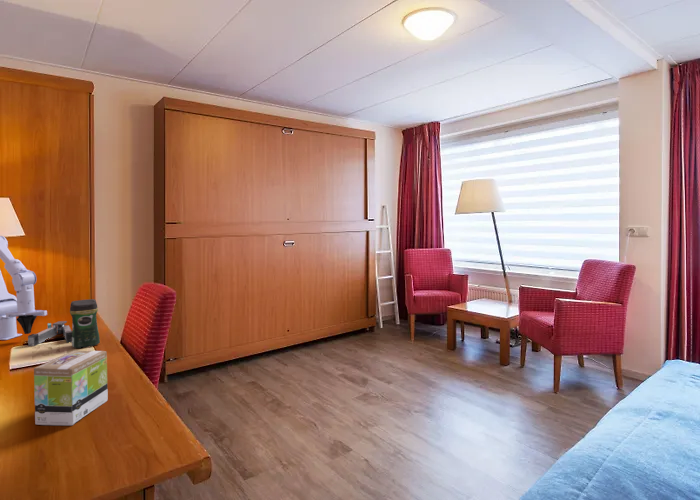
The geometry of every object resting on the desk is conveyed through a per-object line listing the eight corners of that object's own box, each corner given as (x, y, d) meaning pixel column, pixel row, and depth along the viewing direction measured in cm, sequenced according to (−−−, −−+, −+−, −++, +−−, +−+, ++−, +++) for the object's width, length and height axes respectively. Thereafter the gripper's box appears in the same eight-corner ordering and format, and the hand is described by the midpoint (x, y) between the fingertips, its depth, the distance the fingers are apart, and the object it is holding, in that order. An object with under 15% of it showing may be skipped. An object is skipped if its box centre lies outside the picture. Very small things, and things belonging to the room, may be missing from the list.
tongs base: (57, 333, 189) (56, 323, 189) (68, 331, 192) (68, 322, 191) (60, 343, 173) (60, 333, 173) (73, 342, 176) (72, 332, 175)
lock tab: (48, 332, 190) (47, 323, 189) (51, 331, 190) (50, 323, 190) (48, 334, 186) (48, 325, 186) (51, 333, 187) (51, 324, 187)
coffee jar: (99, 341, 177) (97, 297, 176) (100, 345, 171) (98, 300, 169) (71, 345, 172) (69, 299, 170) (71, 350, 165) (69, 303, 164)
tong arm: (56, 332, 190) (55, 321, 190) (67, 332, 191) (66, 321, 190) (28, 346, 170) (27, 334, 169) (40, 345, 170) (40, 333, 170)
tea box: (74, 426, 105) (71, 368, 104) (34, 426, 106) (30, 368, 104) (109, 400, 120) (107, 349, 119) (74, 400, 121) (72, 349, 119)
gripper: (-1, 303, 171) (2, 336, 172) (39, 302, 173) (41, 335, 174) (10, 300, 177) (13, 332, 179) (48, 299, 180) (50, 330, 181)
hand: (27, 333), depth 177 cm, fingers closed
